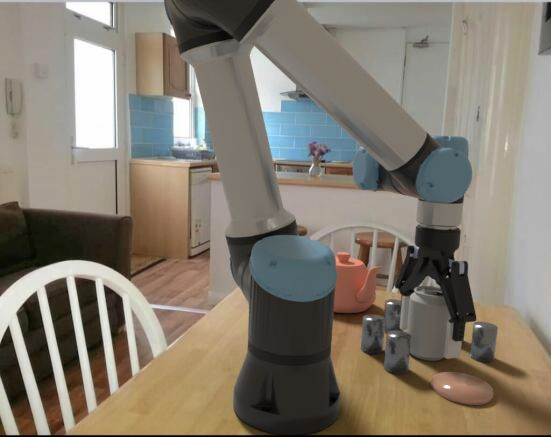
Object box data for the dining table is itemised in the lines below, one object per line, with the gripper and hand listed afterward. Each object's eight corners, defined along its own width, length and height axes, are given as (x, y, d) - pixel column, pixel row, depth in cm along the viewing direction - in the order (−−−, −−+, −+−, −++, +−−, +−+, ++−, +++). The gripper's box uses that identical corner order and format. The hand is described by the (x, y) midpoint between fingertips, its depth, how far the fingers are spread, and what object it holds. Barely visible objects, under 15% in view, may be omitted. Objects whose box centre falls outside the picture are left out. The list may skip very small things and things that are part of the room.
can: (450, 365, 86) (457, 298, 84) (406, 359, 88) (412, 293, 86) (445, 348, 94) (451, 286, 92) (404, 343, 95) (409, 282, 93)
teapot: (402, 316, 110) (407, 261, 108) (348, 328, 101) (352, 269, 100) (339, 289, 128) (342, 242, 126) (288, 297, 120) (291, 246, 118)
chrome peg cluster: (392, 375, 81) (395, 340, 81) (339, 332, 99) (341, 303, 98) (499, 360, 89) (502, 328, 88) (432, 323, 106) (434, 295, 106)
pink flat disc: (457, 408, 72) (457, 403, 72) (419, 380, 80) (420, 375, 80) (506, 400, 75) (507, 395, 75) (465, 373, 83) (465, 369, 83)
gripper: (509, 238, 77) (494, 369, 80) (414, 214, 100) (406, 316, 103) (470, 240, 74) (456, 375, 78) (382, 214, 97) (374, 319, 101)
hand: (427, 342), depth 90 cm, fingers open, 12 cm apart
